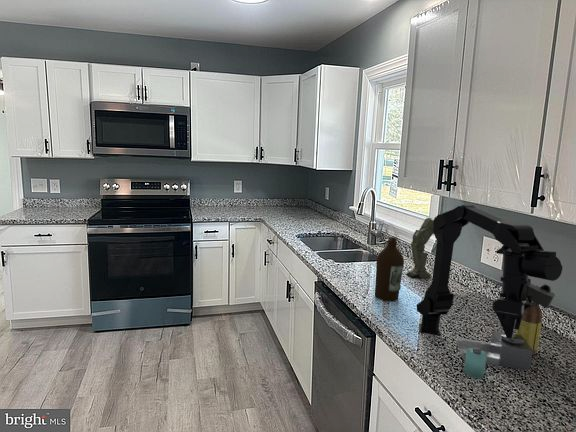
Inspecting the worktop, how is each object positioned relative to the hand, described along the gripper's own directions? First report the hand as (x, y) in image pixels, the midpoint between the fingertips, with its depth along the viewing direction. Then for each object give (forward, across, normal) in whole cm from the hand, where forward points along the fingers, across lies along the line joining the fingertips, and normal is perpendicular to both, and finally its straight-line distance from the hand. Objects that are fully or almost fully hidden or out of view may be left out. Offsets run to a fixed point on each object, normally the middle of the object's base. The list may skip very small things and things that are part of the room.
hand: (512, 333), depth 103 cm
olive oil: (+6, +35, +52) cm, 63 cm away
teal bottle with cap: (+13, 0, +9) cm, 16 cm away
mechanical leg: (+2, +75, +54) cm, 92 cm away
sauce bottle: (+12, +25, +1) cm, 28 cm away
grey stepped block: (+12, +13, +8) cm, 20 cm away
